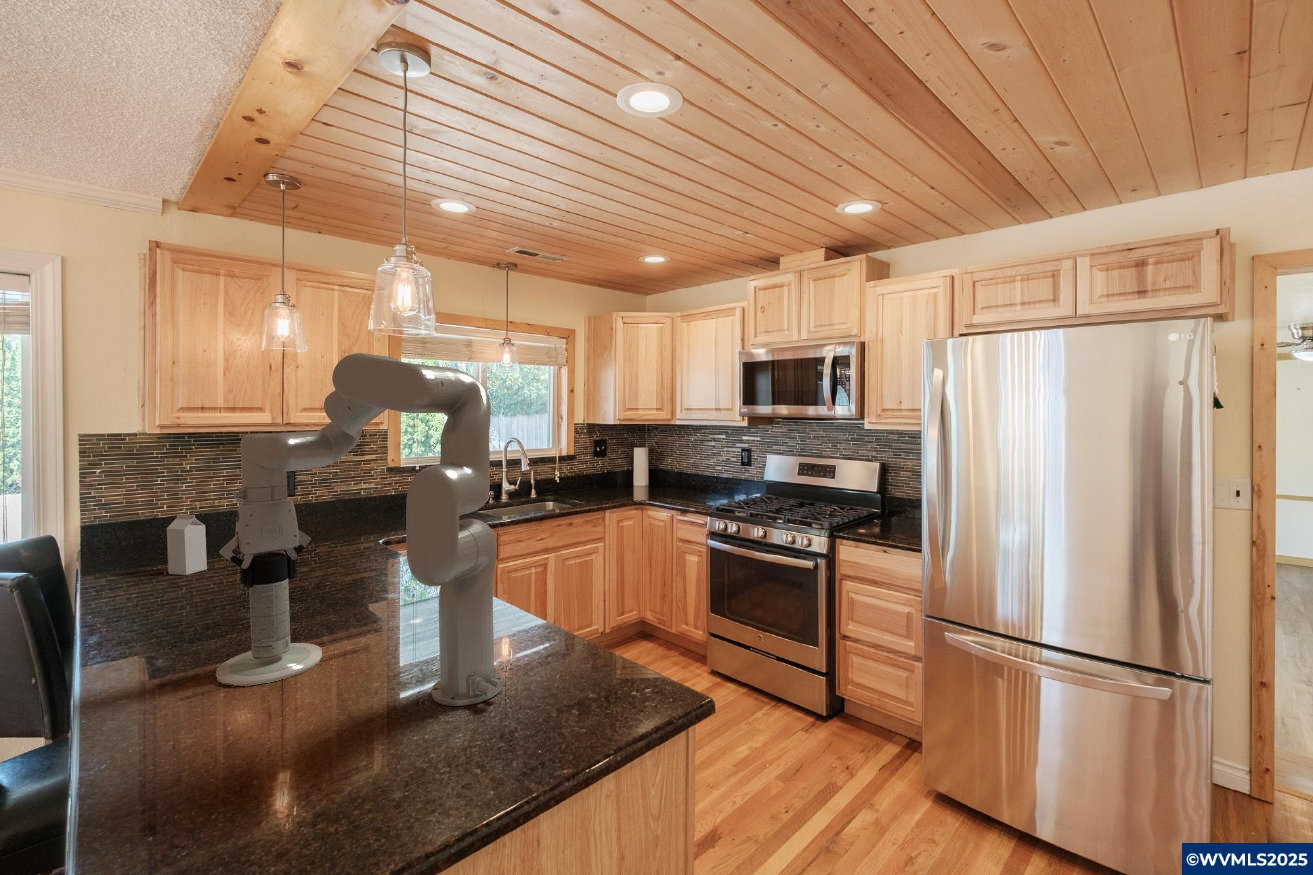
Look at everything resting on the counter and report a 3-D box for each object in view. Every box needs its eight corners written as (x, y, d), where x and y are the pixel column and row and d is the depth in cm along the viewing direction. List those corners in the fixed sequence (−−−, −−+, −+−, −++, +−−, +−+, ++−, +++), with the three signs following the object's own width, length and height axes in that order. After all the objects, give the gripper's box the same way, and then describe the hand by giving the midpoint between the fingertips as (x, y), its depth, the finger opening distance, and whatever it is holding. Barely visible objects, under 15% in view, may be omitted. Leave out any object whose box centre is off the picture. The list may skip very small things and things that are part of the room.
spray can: (284, 643, 124) (280, 550, 123) (296, 651, 120) (292, 554, 119) (247, 653, 119) (242, 556, 118) (258, 662, 115) (254, 561, 114)
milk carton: (186, 575, 189) (183, 516, 188) (168, 574, 190) (165, 516, 189) (207, 569, 196) (204, 513, 195) (189, 568, 197) (187, 512, 196)
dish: (336, 662, 121) (336, 656, 121) (232, 695, 107) (232, 688, 107) (302, 641, 132) (302, 636, 132) (204, 669, 118) (204, 662, 118)
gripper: (219, 501, 109) (223, 596, 110) (319, 491, 122) (322, 576, 123) (207, 498, 114) (211, 589, 114) (305, 488, 127) (308, 570, 128)
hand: (268, 581), depth 119 cm, fingers closed on spray can, 6 cm apart
